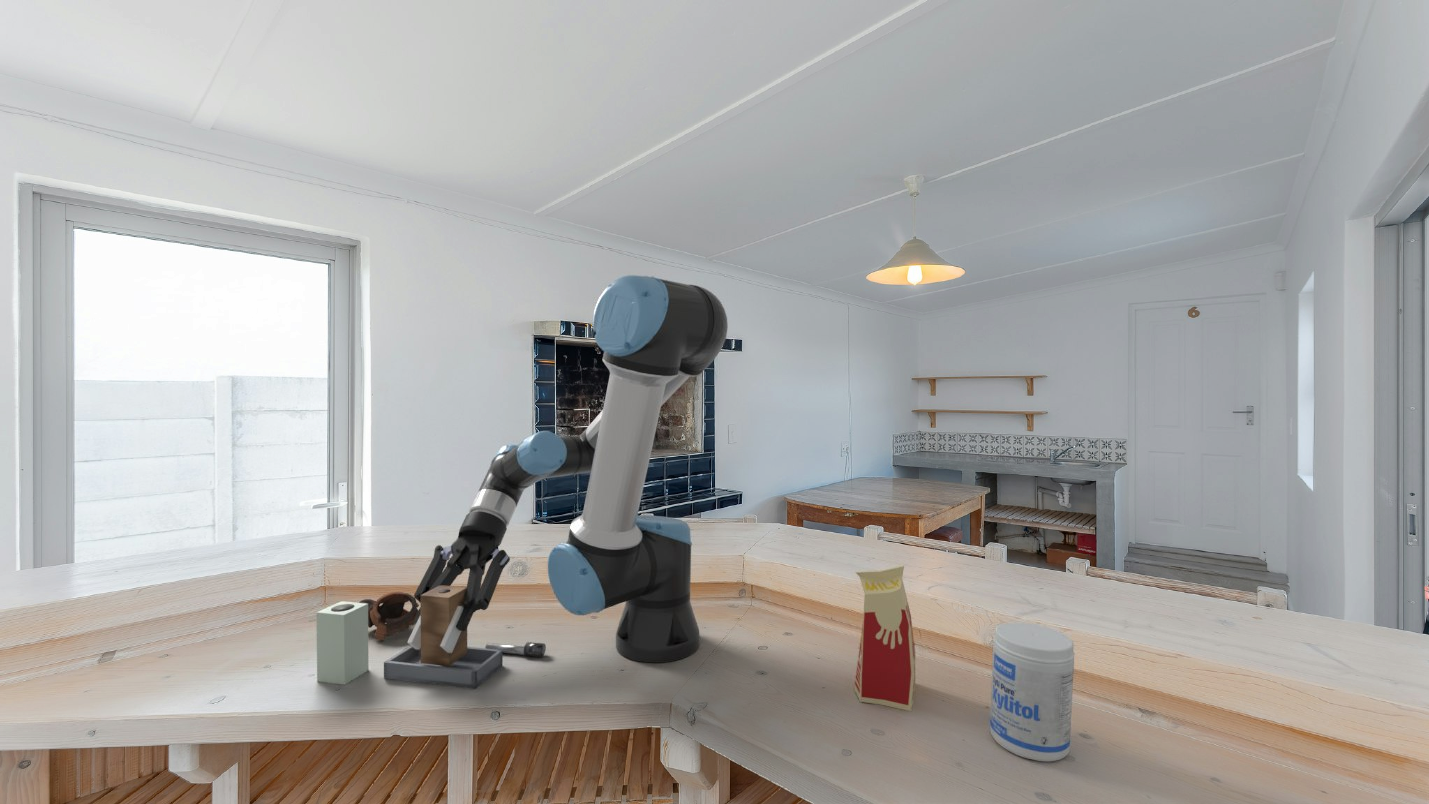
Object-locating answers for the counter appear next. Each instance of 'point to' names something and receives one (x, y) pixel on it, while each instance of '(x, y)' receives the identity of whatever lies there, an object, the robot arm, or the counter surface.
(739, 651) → the counter surface
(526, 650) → the rod
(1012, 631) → the supplement tub
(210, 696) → the counter surface
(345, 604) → the sage block
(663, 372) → the robot arm
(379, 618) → the pottery mug
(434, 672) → the slate tray
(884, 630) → the milk carton
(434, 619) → the walnut block
